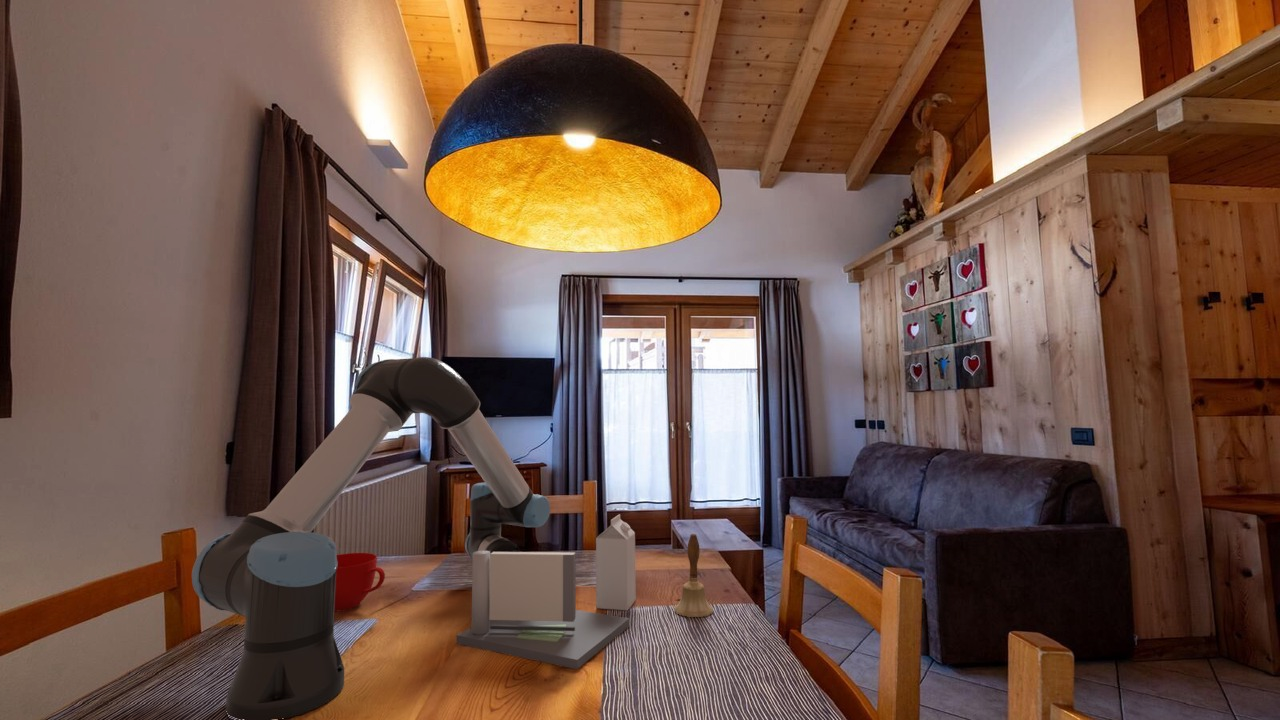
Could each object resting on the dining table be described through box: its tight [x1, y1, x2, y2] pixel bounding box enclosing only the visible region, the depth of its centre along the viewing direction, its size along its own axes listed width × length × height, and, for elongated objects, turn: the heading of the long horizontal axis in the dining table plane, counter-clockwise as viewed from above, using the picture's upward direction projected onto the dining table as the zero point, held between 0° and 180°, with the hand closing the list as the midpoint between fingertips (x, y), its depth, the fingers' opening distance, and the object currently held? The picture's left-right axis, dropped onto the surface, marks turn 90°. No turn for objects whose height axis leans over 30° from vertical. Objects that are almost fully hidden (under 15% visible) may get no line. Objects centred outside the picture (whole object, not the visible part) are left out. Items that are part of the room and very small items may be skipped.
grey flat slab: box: [455, 609, 630, 670], centre depth 106 cm, size 20×26×2 cm
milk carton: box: [595, 513, 637, 611], centre depth 123 cm, size 7×7×19 cm
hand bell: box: [674, 533, 714, 618], centre depth 119 cm, size 8×8×16 cm
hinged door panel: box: [471, 551, 577, 635], centre depth 104 cm, size 20×3×14 cm, turn 85°
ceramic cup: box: [334, 552, 386, 612], centre depth 123 cm, size 13×17×10 cm
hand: (541, 579), depth 111 cm, fingers closed
